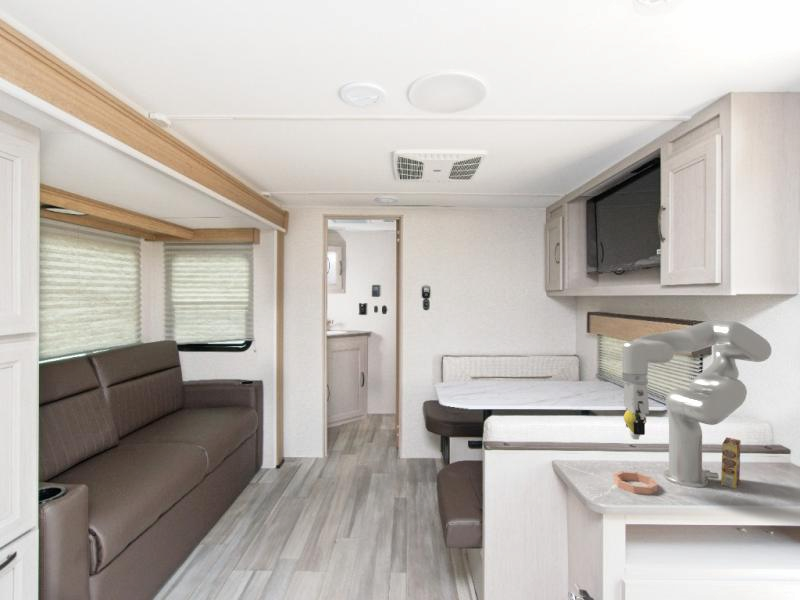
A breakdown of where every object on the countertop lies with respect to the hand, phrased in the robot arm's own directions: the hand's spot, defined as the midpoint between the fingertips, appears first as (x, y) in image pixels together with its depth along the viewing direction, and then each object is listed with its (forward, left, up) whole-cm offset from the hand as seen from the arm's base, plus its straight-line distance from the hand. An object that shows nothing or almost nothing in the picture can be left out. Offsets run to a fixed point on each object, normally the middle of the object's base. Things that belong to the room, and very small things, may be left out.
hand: (635, 430), depth 137 cm
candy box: (-33, -9, -20) cm, 39 cm away
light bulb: (0, 0, -3) cm, 3 cm away
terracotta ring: (0, 0, -19) cm, 20 cm away
